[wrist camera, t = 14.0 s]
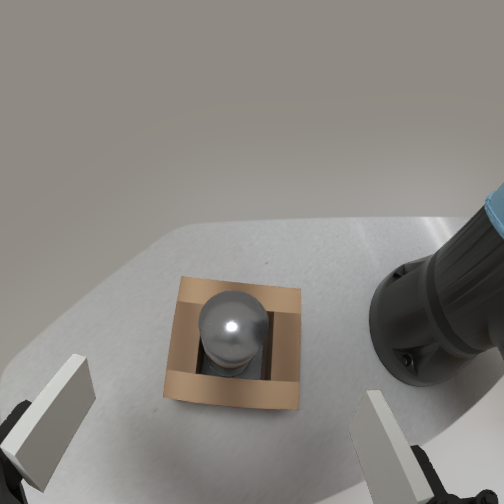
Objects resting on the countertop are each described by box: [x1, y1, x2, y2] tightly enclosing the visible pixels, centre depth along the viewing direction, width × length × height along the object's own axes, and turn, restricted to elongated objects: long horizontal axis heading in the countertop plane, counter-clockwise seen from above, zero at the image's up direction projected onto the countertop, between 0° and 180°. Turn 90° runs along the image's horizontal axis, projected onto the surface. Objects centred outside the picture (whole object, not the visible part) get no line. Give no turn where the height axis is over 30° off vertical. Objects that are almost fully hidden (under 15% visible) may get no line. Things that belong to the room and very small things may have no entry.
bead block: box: [163, 276, 301, 409], centre depth 24 cm, size 10×10×6 cm
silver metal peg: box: [198, 290, 269, 377], centre depth 21 cm, size 4×4×12 cm
